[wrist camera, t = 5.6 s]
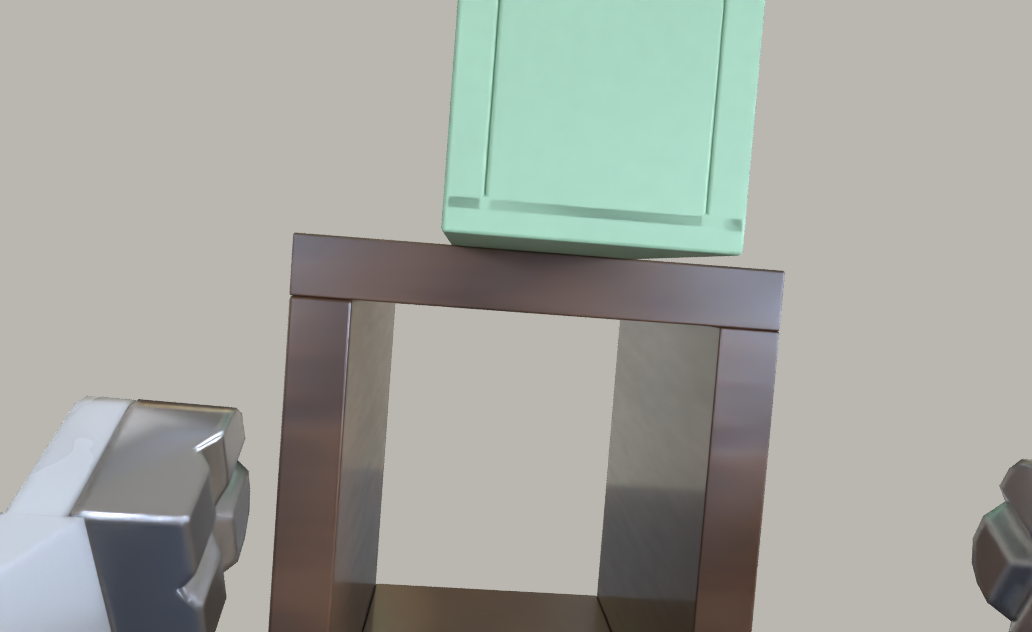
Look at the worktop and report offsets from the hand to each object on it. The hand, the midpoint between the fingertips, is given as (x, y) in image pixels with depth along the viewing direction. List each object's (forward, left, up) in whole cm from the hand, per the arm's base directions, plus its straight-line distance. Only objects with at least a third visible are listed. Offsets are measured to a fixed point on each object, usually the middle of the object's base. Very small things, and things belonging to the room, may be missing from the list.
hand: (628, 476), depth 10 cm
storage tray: (0, -15, +3) cm, 15 cm away
